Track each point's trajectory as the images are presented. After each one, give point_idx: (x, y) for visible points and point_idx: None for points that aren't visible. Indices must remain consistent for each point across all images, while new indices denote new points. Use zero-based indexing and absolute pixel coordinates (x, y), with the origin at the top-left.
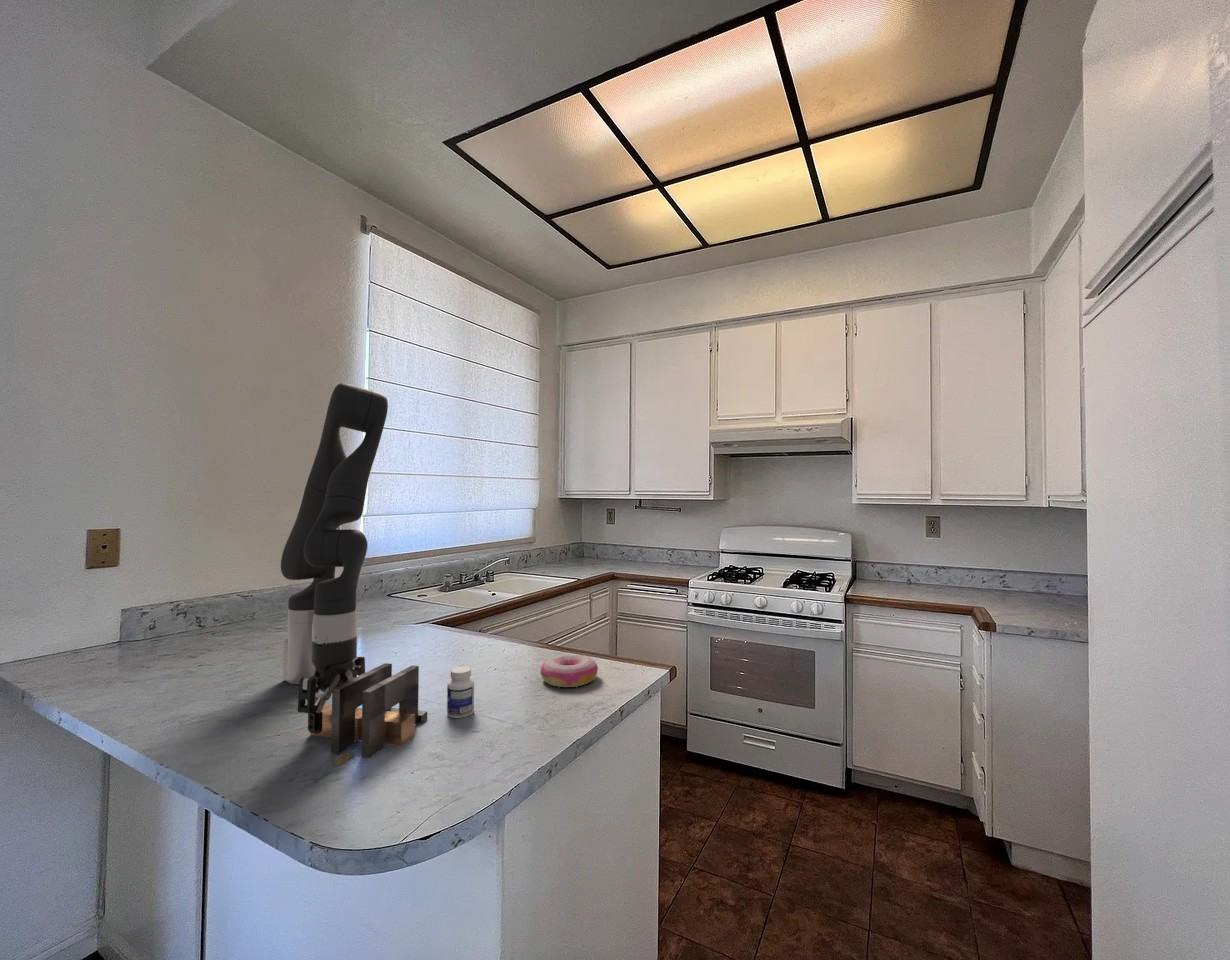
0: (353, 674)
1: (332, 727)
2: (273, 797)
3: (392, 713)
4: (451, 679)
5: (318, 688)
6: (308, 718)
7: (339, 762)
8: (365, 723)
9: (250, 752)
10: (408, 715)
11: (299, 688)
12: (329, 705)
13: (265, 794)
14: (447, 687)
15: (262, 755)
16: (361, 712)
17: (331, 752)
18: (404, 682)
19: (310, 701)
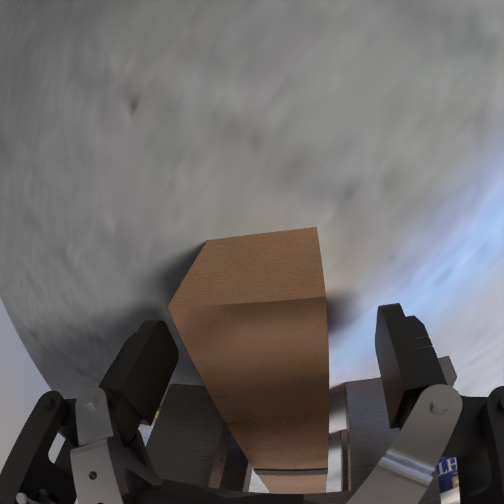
0: (489, 488)
1: (148, 445)
2: (55, 374)
3: (314, 481)
4: (458, 497)
5: (116, 498)
6: (107, 375)
7: (156, 417)
8: None
9: (33, 170)
10: (314, 492)
11: (1, 478)
12: (315, 319)
13: (47, 360)
14: (440, 493)
15: (47, 227)
16: (291, 451)
17: (170, 386)
18: None
19: (66, 467)
